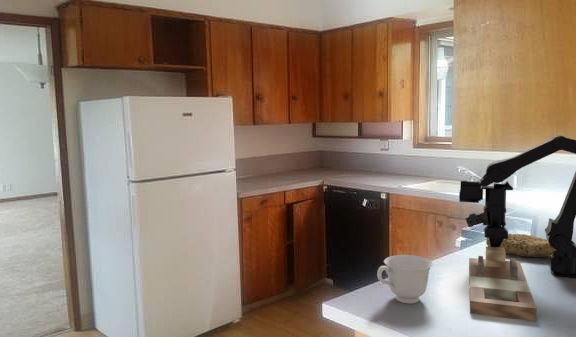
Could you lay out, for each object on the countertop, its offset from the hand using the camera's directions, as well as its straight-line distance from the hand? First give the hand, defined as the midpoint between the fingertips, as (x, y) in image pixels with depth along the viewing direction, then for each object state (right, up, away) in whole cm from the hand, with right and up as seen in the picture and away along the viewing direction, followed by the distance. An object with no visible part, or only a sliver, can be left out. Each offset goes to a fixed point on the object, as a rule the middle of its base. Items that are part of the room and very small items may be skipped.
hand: (493, 254), depth 144 cm
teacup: (-34, -8, -24) cm, 42 cm away
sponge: (+15, -3, +13) cm, 20 cm away
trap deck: (-7, -6, -18) cm, 21 cm away
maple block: (-3, -2, -7) cm, 7 cm away
